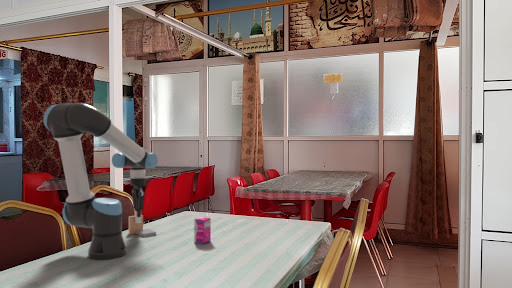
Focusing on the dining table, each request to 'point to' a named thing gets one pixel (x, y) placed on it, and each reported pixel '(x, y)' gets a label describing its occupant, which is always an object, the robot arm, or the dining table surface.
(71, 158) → the robot arm
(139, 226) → the terracotta tile
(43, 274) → the dining table surface
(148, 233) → the slate tile
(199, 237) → the supplement box
